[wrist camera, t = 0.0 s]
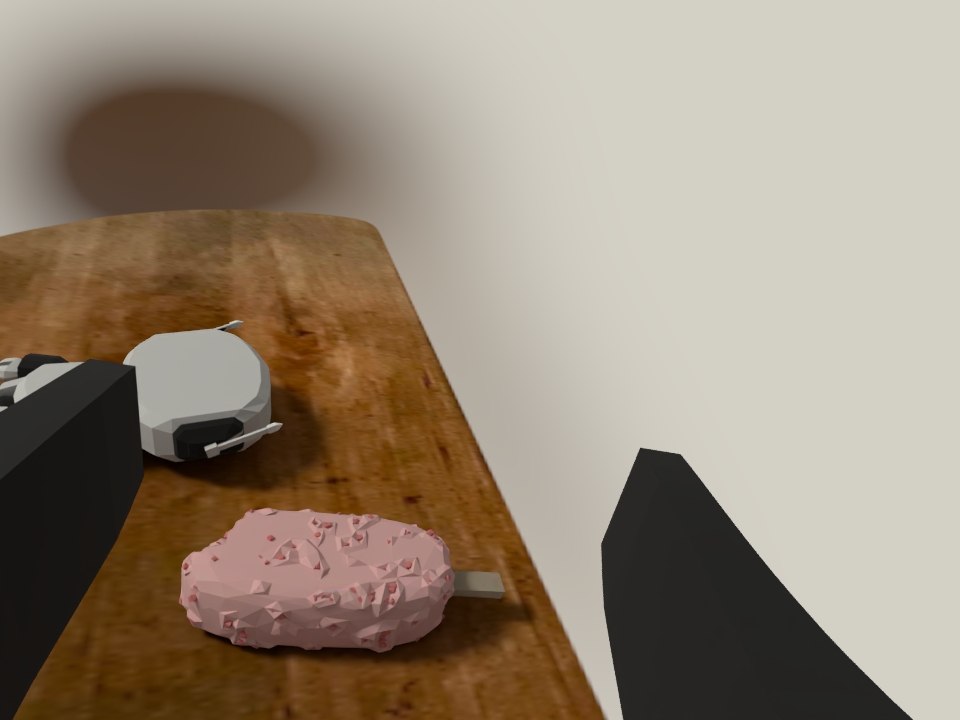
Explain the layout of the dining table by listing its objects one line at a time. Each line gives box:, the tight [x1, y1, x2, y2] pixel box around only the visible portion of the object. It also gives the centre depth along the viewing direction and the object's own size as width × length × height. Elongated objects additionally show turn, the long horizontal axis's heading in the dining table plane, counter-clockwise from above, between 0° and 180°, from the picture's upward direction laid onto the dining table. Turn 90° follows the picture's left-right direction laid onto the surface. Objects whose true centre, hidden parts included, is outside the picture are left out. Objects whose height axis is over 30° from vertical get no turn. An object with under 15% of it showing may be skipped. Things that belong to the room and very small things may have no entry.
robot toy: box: [0, 320, 283, 462], centre depth 44 cm, size 12×4×15 cm
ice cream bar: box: [179, 508, 505, 653], centre depth 35 cm, size 6×4×15 cm
